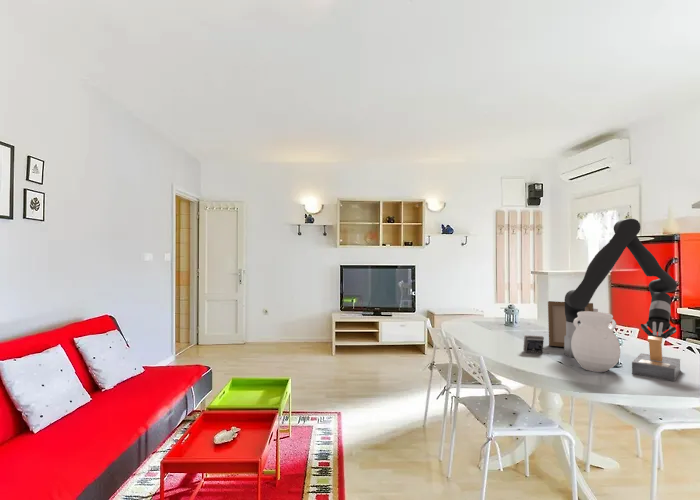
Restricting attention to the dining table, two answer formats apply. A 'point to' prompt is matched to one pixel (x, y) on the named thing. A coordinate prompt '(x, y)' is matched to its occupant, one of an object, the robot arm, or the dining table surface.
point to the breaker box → (656, 367)
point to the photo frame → (559, 322)
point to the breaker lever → (655, 348)
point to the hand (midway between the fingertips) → (656, 344)
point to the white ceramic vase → (595, 341)
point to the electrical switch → (533, 344)
